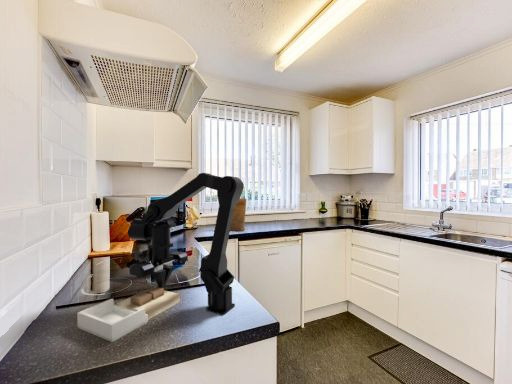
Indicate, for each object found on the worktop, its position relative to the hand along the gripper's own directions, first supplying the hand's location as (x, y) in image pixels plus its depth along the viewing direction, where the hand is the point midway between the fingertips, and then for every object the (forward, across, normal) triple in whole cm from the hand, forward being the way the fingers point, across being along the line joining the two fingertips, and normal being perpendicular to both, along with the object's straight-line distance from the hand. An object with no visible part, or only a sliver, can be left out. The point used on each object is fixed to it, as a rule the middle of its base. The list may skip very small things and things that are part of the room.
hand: (161, 289), depth 81 cm
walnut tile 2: (+1, +3, 0) cm, 3 cm away
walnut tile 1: (+1, +8, 0) cm, 8 cm away
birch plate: (+4, +5, 0) cm, 6 cm away
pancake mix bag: (+4, -125, -50) cm, 135 cm away
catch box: (+4, +16, 0) cm, 16 cm away
